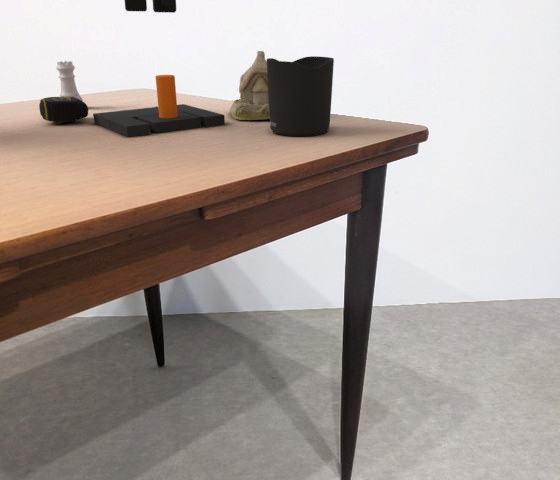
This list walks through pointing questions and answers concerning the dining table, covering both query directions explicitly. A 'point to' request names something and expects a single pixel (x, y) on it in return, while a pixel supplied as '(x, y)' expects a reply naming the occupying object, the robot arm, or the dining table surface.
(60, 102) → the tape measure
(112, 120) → the black u-shaped block
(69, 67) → the rook chess piece
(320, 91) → the pen holder
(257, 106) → the ceramic model
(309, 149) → the dining table surface
